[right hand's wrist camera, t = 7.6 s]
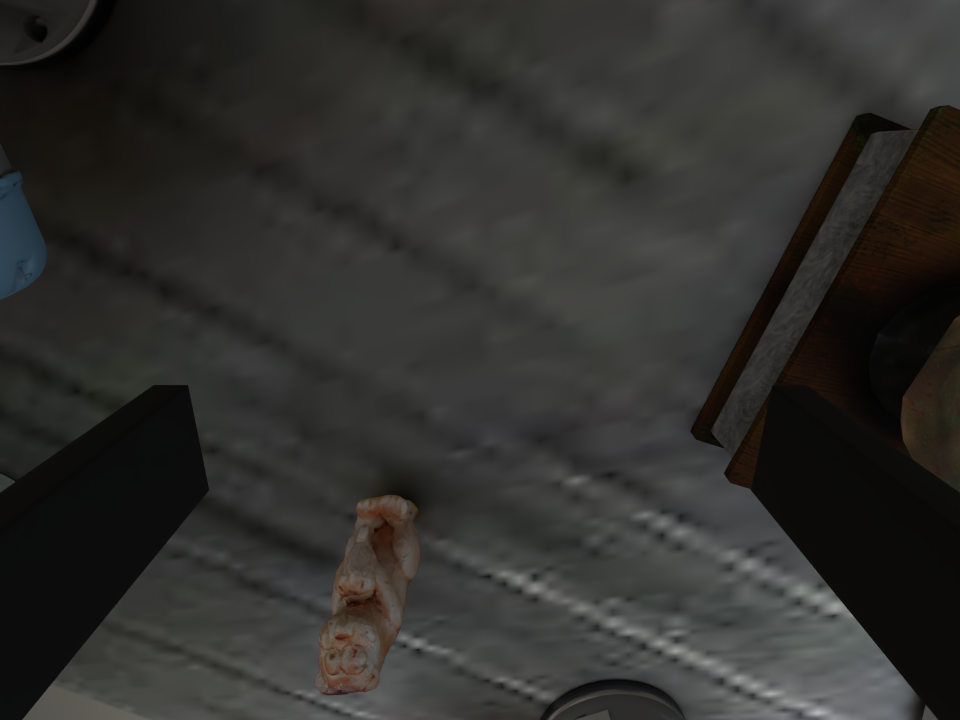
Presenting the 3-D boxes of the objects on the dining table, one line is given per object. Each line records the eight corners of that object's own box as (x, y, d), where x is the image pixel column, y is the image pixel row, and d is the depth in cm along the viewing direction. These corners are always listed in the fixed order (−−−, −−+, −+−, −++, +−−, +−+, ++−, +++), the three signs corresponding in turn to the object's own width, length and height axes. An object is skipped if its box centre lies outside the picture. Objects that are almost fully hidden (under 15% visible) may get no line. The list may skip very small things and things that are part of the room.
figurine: (413, 468, 45) (383, 610, 31) (435, 542, 47) (416, 705, 33) (341, 481, 45) (279, 627, 31) (366, 554, 48) (319, 719, 34)
